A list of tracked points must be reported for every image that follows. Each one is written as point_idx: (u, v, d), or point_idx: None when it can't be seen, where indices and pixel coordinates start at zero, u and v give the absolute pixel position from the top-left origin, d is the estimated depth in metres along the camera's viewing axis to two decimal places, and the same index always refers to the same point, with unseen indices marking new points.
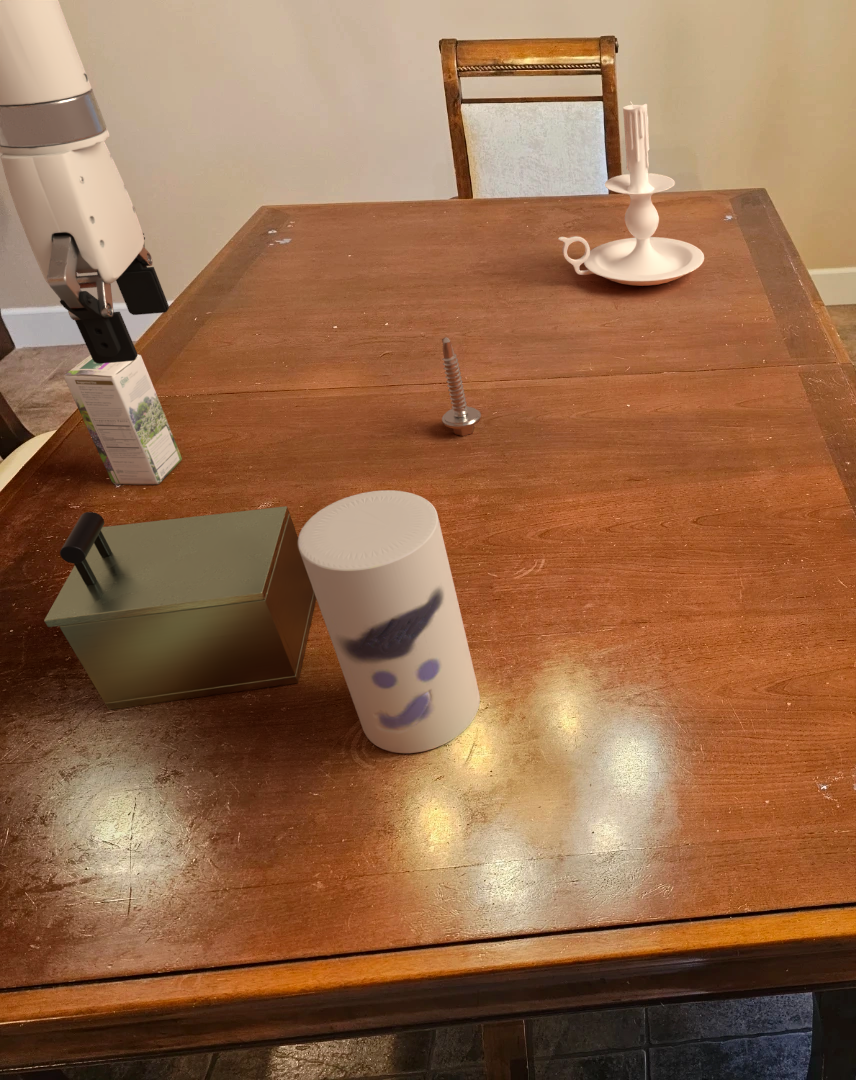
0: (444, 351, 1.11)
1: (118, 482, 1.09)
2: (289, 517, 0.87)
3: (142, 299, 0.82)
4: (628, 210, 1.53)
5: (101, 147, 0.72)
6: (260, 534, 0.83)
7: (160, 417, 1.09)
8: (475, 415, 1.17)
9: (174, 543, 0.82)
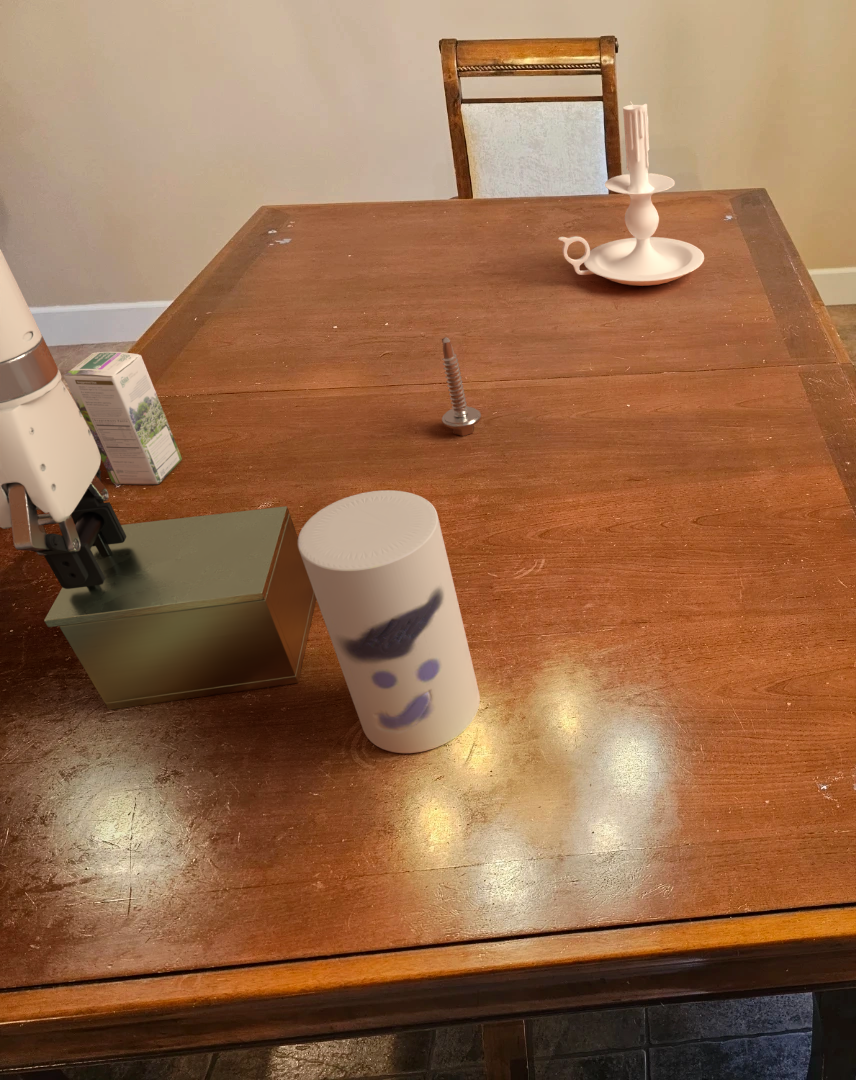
0: (444, 351, 1.11)
1: (118, 482, 1.09)
2: (289, 517, 0.87)
3: None
4: (628, 210, 1.53)
5: None
6: (260, 534, 0.83)
7: (160, 417, 1.09)
8: (475, 415, 1.17)
9: (174, 543, 0.82)
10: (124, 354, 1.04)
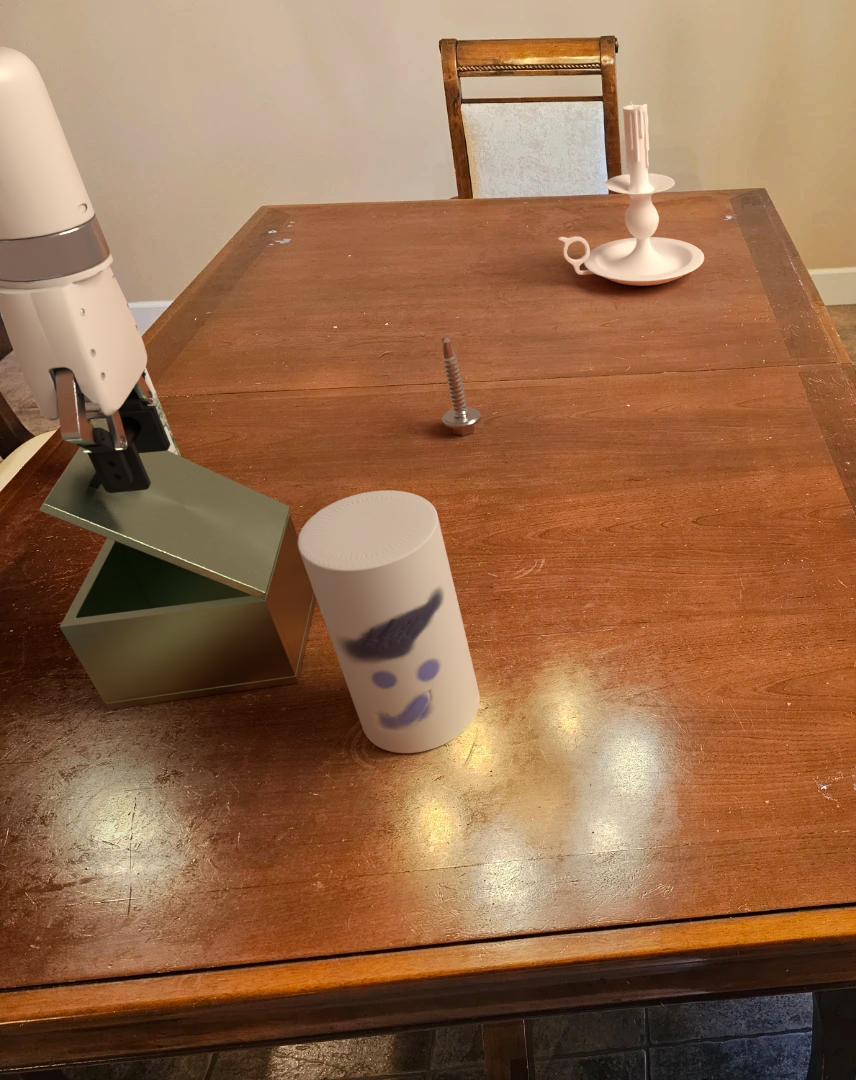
0: (444, 351, 1.11)
1: None
2: (289, 517, 0.87)
3: (142, 438, 0.76)
4: (628, 210, 1.53)
5: (104, 270, 0.67)
6: (265, 525, 0.83)
7: (160, 417, 1.09)
8: (475, 415, 1.17)
9: (180, 485, 0.79)
10: None
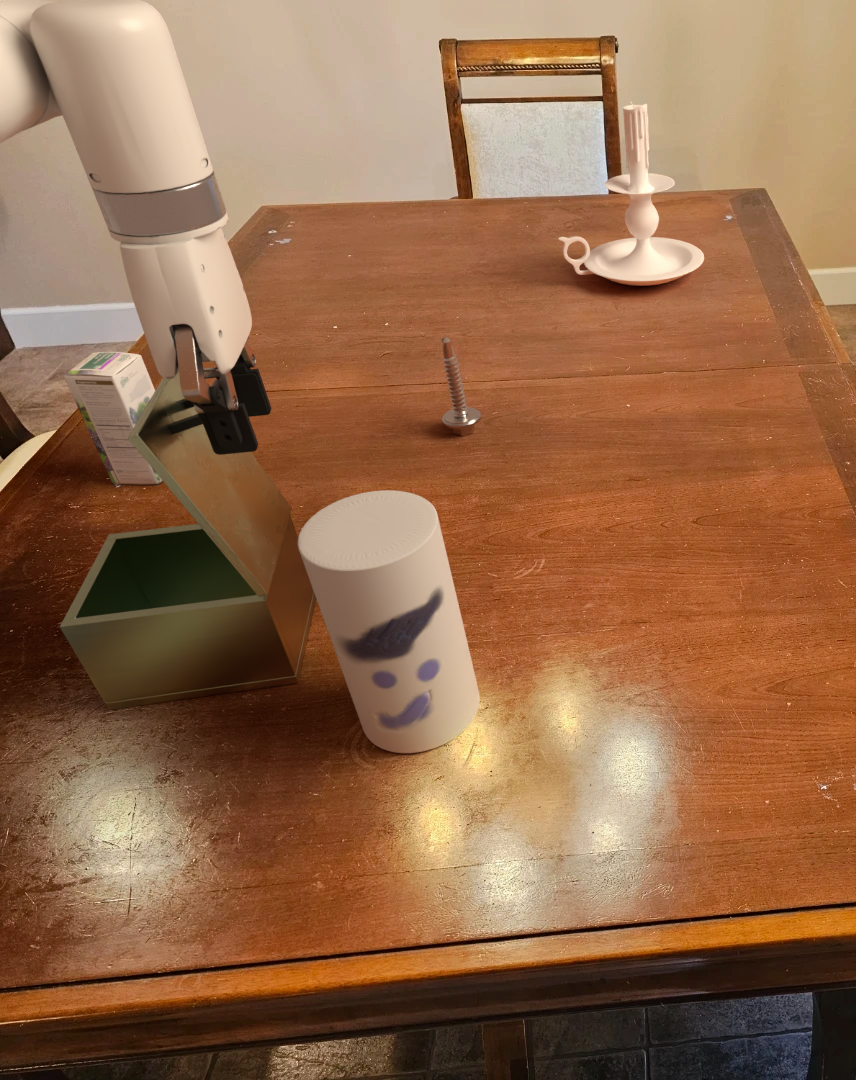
0: (444, 351, 1.11)
1: (118, 482, 1.09)
2: (289, 517, 0.87)
3: (245, 402, 0.76)
4: (628, 210, 1.53)
5: (217, 229, 0.67)
6: (274, 521, 0.83)
7: None
8: (475, 415, 1.17)
9: (226, 455, 0.78)
10: (124, 354, 1.04)
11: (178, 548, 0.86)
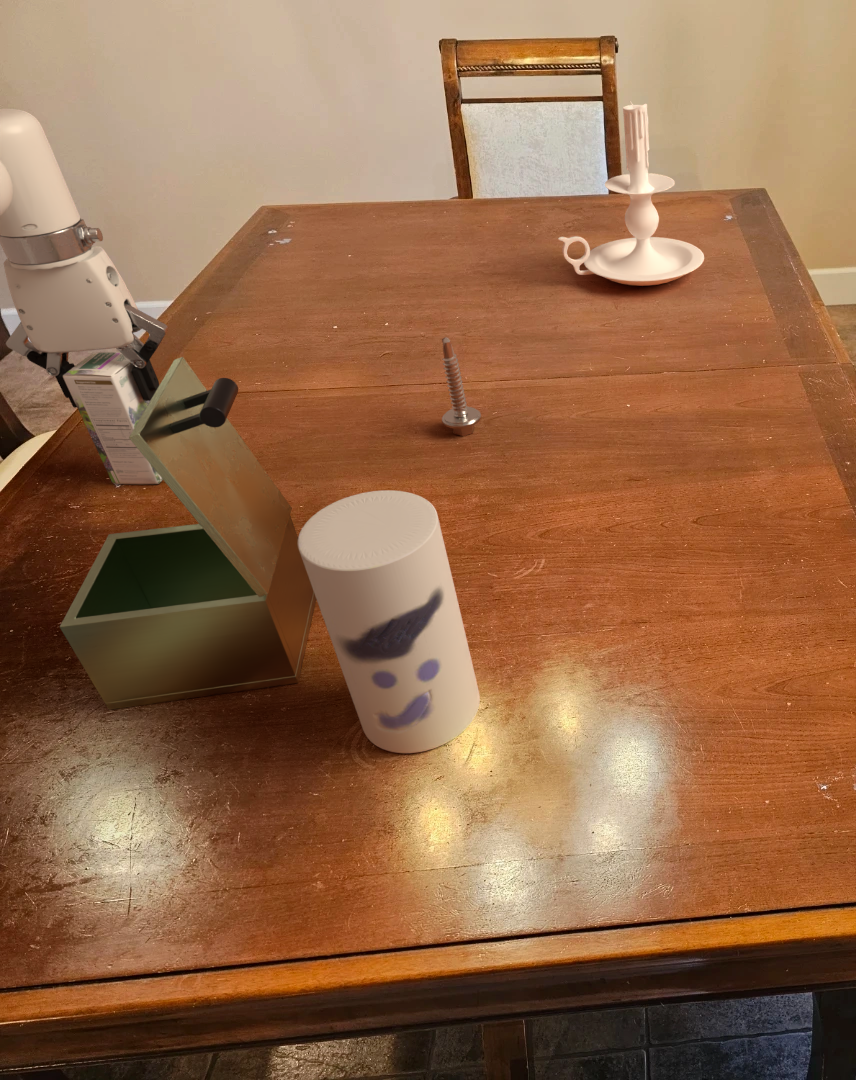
0: (444, 351, 1.11)
1: (118, 482, 1.09)
2: (289, 517, 0.87)
3: None
4: (628, 210, 1.53)
5: (67, 273, 0.94)
6: (274, 521, 0.83)
7: None
8: (475, 415, 1.17)
9: (227, 454, 0.78)
10: None
11: (178, 548, 0.86)
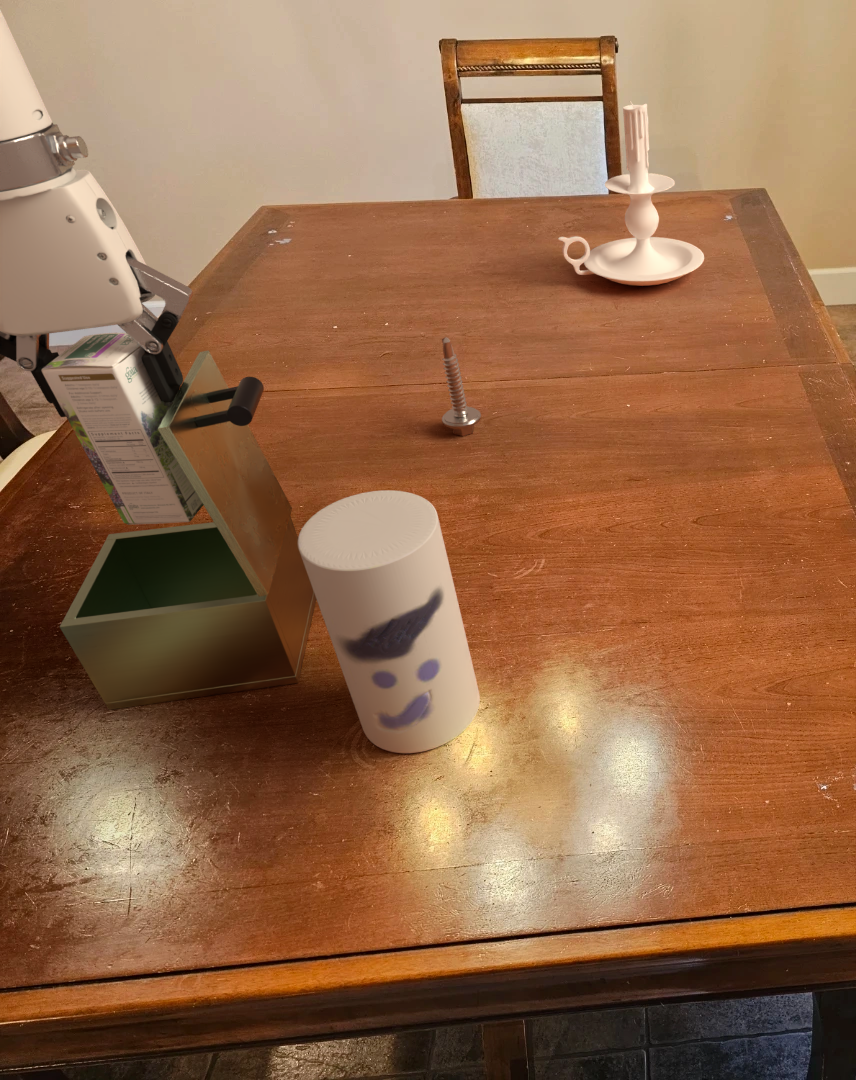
0: (444, 351, 1.11)
1: (132, 522, 0.76)
2: None
3: None
4: (628, 210, 1.53)
5: (36, 207, 0.61)
6: (277, 521, 0.83)
7: None
8: (475, 415, 1.17)
9: (241, 451, 0.78)
10: None
11: (178, 548, 0.86)
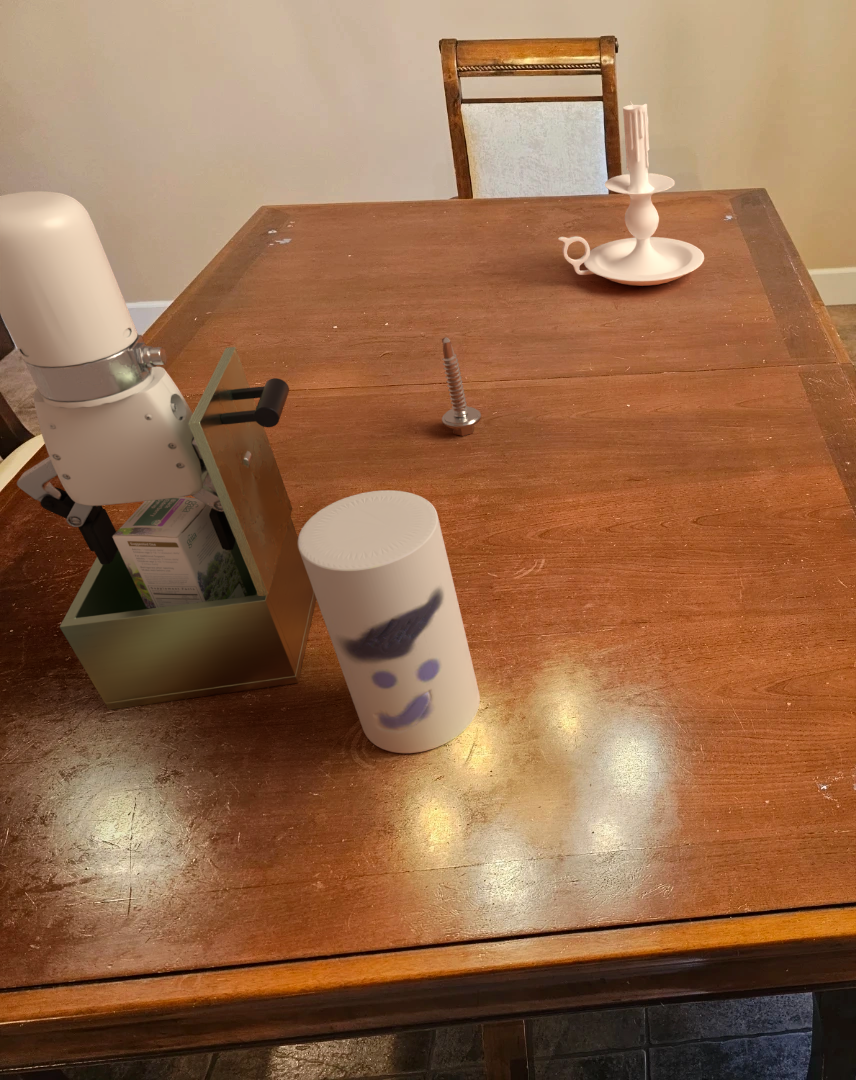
0: (444, 351, 1.11)
1: None
2: None
3: None
4: (628, 210, 1.53)
5: (120, 408, 0.69)
6: (280, 521, 0.83)
7: (233, 574, 0.84)
8: (475, 415, 1.17)
9: (255, 449, 0.79)
10: (189, 500, 0.80)
11: None
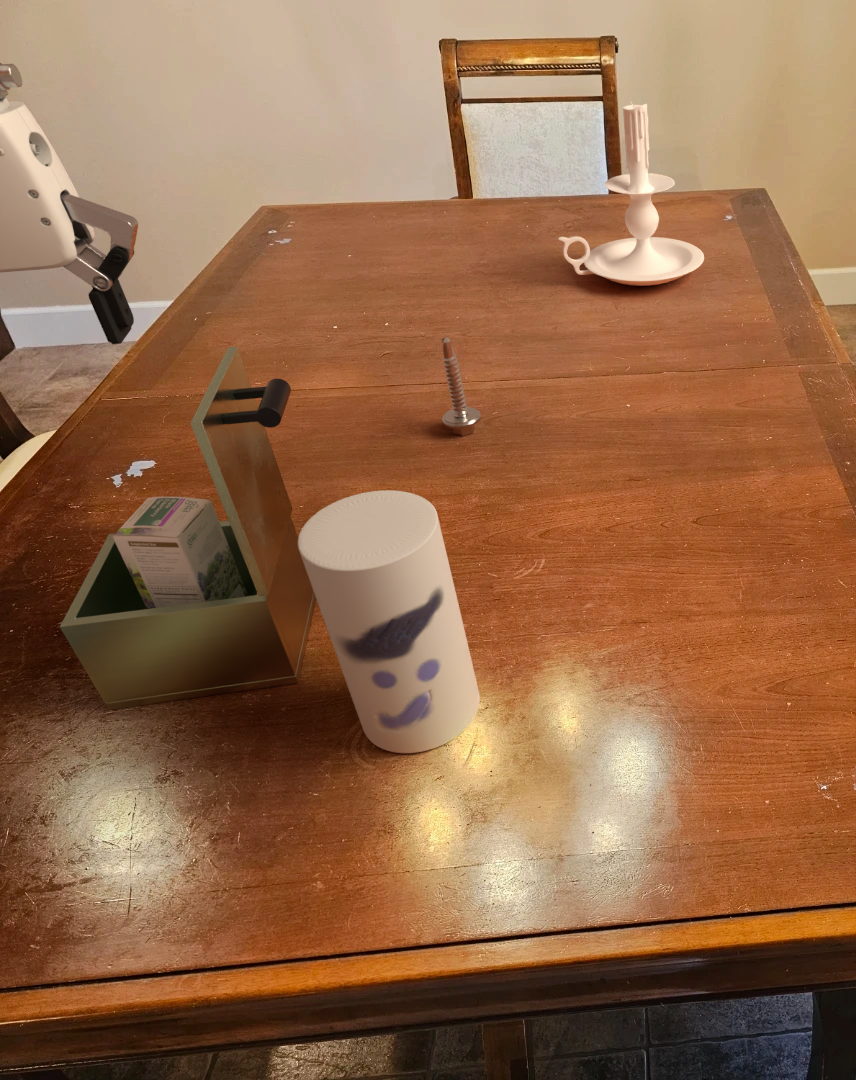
0: (444, 351, 1.11)
1: None
2: None
3: None
4: (628, 210, 1.53)
5: None
6: (280, 521, 0.83)
7: (233, 574, 0.84)
8: (475, 415, 1.17)
9: (256, 449, 0.79)
10: (189, 500, 0.80)
11: None
